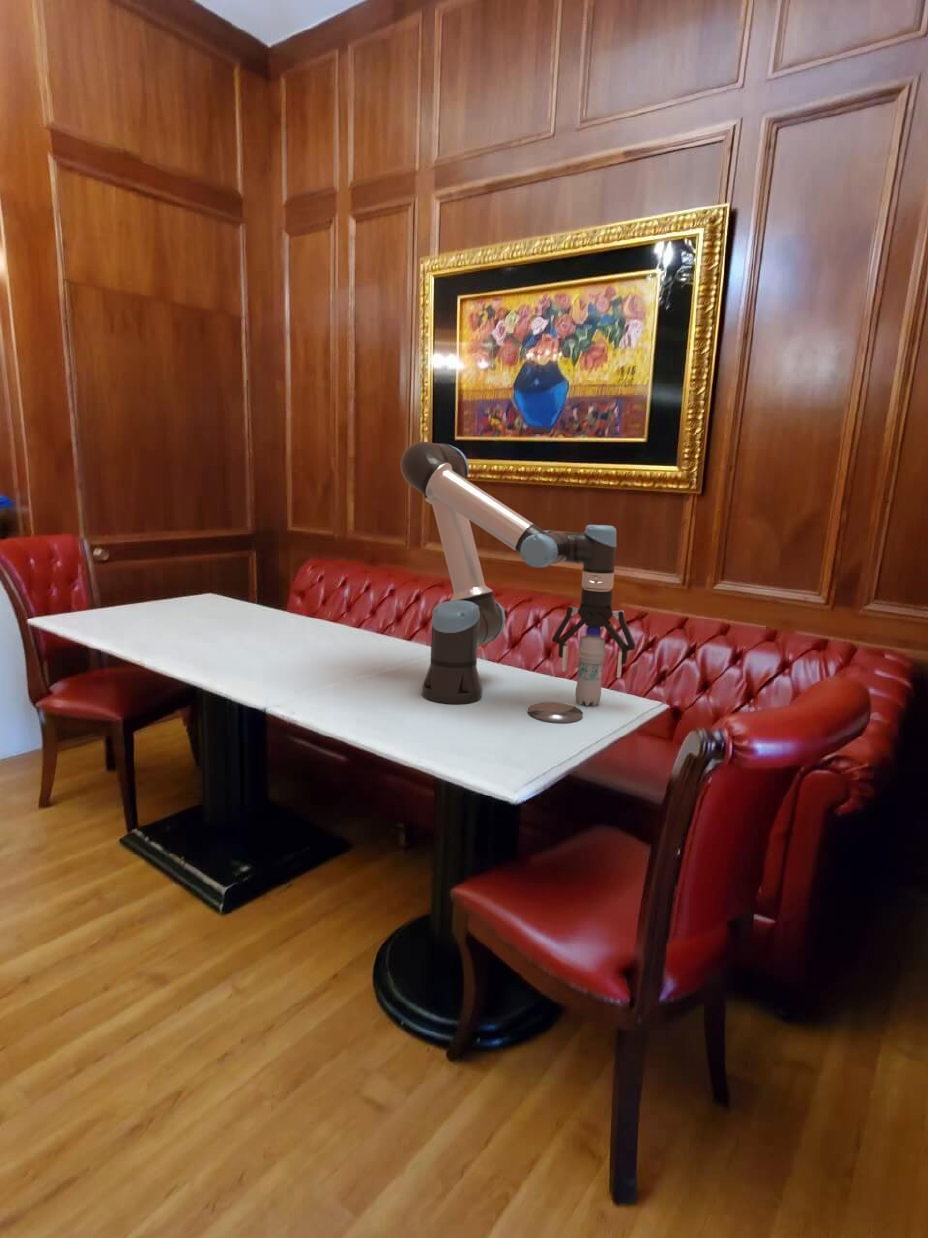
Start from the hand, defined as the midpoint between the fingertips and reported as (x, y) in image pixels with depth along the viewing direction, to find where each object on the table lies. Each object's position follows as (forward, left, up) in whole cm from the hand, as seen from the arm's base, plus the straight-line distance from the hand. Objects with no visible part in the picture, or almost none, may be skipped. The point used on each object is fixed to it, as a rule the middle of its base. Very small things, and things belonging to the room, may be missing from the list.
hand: (591, 673), depth 175 cm
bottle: (0, 0, -8) cm, 8 cm away
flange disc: (-6, -12, -8) cm, 16 cm away
